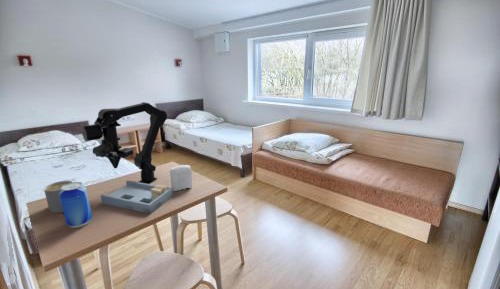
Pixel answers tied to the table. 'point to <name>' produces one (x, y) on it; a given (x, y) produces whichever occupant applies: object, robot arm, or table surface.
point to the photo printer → (181, 177)
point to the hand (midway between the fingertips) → (115, 168)
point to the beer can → (75, 204)
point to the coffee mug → (54, 196)
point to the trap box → (136, 197)
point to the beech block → (158, 191)
